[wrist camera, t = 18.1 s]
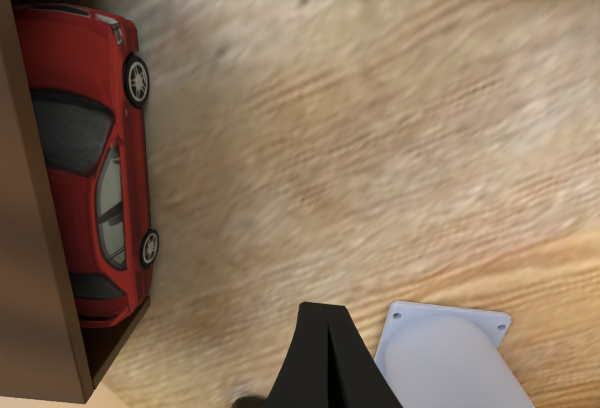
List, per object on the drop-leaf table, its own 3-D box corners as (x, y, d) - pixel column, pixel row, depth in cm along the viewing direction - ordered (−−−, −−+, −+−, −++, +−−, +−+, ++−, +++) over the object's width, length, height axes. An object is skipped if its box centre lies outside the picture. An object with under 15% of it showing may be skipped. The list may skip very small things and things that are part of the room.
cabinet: (150, 304, 21) (85, 405, 15) (26, 291, 21) (-94, 388, 15) (118, -54, 13) (-48, -159, 7) (-82, -82, 13) (-439, -217, 7)
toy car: (75, 269, 20) (8, 328, 16) (42, -1, 14) (-82, -32, 10) (161, 283, 21) (120, 345, 16) (165, 25, 15) (100, 7, 10)
